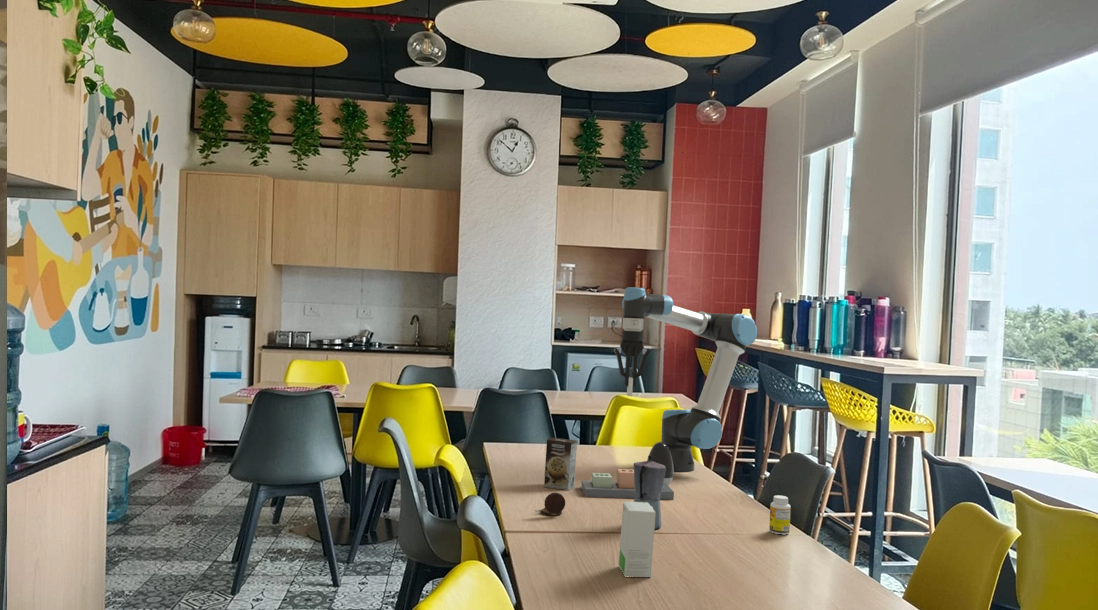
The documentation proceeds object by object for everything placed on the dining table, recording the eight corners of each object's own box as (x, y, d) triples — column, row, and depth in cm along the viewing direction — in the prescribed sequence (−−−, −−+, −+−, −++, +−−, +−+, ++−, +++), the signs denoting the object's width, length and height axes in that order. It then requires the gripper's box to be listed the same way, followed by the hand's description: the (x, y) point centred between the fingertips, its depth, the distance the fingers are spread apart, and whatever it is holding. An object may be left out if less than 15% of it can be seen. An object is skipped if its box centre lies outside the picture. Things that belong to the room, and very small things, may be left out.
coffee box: (543, 487, 271) (545, 439, 271) (550, 483, 277) (552, 436, 277) (568, 490, 268) (571, 442, 268) (575, 487, 274) (577, 439, 274)
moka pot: (667, 522, 233) (671, 453, 234) (657, 535, 219) (660, 462, 219) (635, 517, 237) (638, 450, 237) (622, 530, 222) (626, 458, 222)
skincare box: (618, 566, 191) (621, 500, 191) (645, 566, 192) (648, 501, 192) (624, 578, 183) (628, 509, 183) (653, 578, 183) (656, 510, 183)
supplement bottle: (770, 529, 232) (772, 493, 232) (790, 531, 230) (792, 496, 230) (768, 533, 227) (769, 497, 227) (788, 536, 225) (790, 500, 225)
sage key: (608, 488, 270) (609, 472, 270) (611, 492, 264) (612, 476, 264) (591, 487, 270) (592, 472, 270) (593, 491, 264) (594, 476, 264)
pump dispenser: (672, 482, 288) (674, 440, 288) (674, 489, 278) (676, 445, 278) (643, 480, 289) (646, 438, 289) (644, 487, 279) (646, 443, 279)
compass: (558, 511, 241) (560, 486, 241) (565, 518, 233) (566, 492, 233) (532, 511, 239) (533, 486, 239) (538, 518, 231) (539, 492, 231)
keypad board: (665, 490, 275) (665, 483, 275) (673, 499, 262) (673, 492, 262) (581, 487, 273) (581, 480, 273) (585, 496, 260) (585, 488, 260)
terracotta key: (634, 484, 271) (634, 468, 271) (637, 488, 265) (638, 472, 265) (616, 483, 270) (617, 468, 270) (619, 487, 264) (620, 471, 265)
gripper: (616, 329, 285) (613, 396, 285) (652, 331, 286) (649, 397, 286) (613, 329, 292) (610, 393, 292) (648, 330, 293) (645, 395, 293)
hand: (629, 395), depth 289 cm, fingers closed
